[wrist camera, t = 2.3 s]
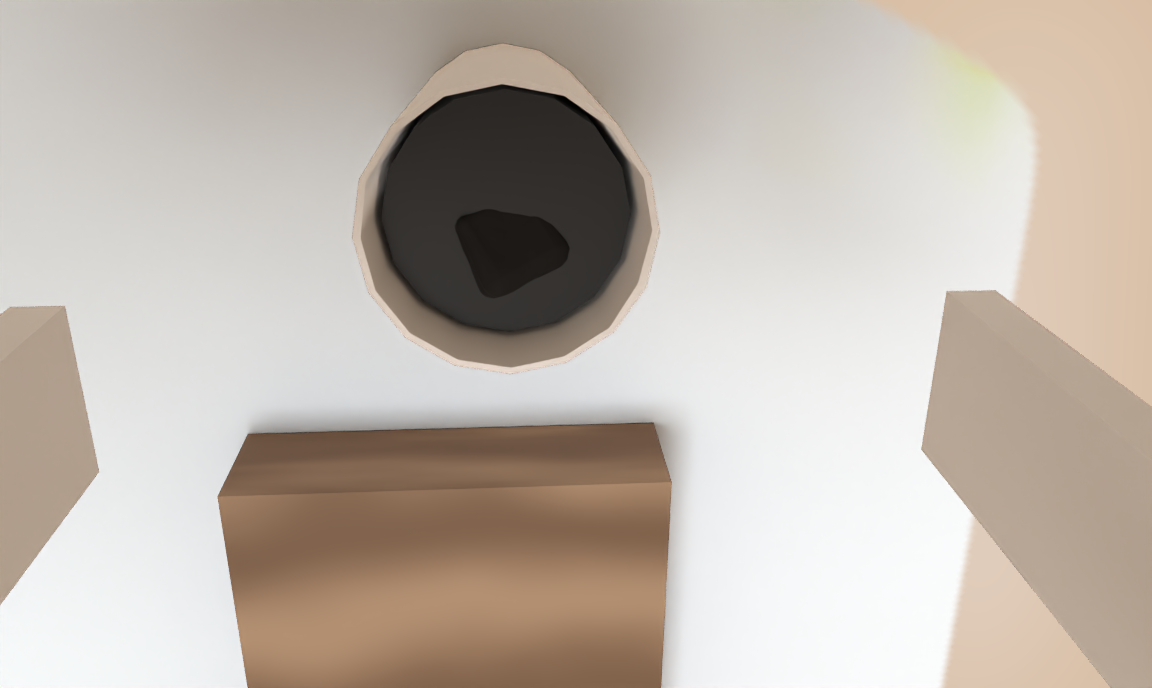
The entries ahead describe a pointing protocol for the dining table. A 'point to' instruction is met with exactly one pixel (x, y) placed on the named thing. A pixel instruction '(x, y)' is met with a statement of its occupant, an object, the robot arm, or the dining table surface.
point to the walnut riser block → (450, 557)
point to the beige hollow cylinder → (505, 215)
